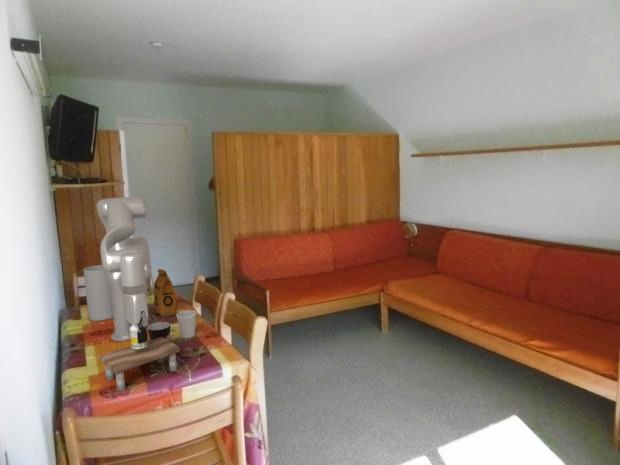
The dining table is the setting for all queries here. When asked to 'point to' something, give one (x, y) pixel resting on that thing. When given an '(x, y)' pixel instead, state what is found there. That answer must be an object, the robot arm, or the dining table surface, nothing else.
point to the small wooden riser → (138, 359)
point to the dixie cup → (187, 323)
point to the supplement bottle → (134, 338)
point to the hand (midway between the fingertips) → (139, 339)
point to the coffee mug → (159, 330)
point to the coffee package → (164, 295)
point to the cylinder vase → (98, 293)
